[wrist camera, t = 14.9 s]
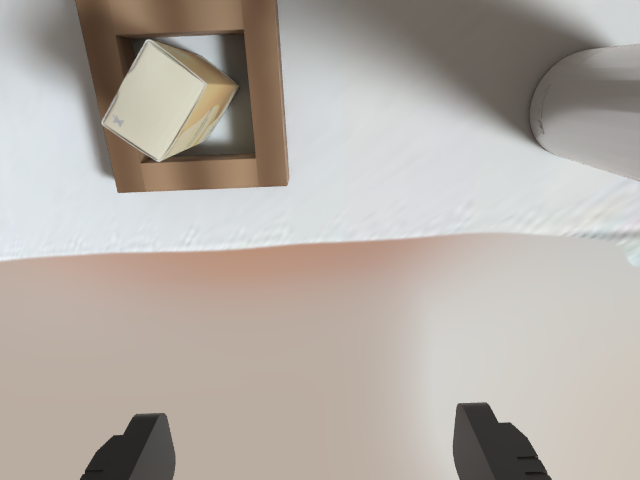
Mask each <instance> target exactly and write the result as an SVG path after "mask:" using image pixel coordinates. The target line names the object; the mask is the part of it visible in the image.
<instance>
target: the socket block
mask: <svg viewBox="0 0 640 480" xmlns="http://www.w3.org/2000/svg"><path fill="white" fill-rule="evenodd" d="M75 1H76V6H77V10H78V15H79V19H80V24H81V28H82V33H83V37H84V42H85V46H86V51H87V56H88V60H89V65H90V69H91V74H92V78H93V83H94V87H95V92H96V96H97V101H98V105H99V110H100V114H101V119H102V120H103V118H104V116H105V114H106V112H107V110H108V108H109V107H110V105H111V103H112V101H113V99H114V97H115V96H116V94H117V92H118V90H119V88H120V86H121V84H122V82H123V80H124V78H125V77H126V75H127V73H128V71H129V70H130V68H131V66H132V64H133V62H134V60H135V55H134V50H133V45H132V39H133V38H156V37H178V36H200V35H222V34H244V38H245V49H246V59H247V70H248V80H249V90H250V101H251V111H252V122H253V132H254V143H255V153H248V154H224V155H201V156H177V157H169V158H167V159H164V160H162V161H160V162H157V161H155V160H154V159H152V158H151V157H149V156H147V155H146V154H144V153H142V152H141V151H139V150H138V149H136V148H135V147H133V146H132V145H130V144H129V143H128V142H126V141H125V140H123V139H122V138H120V137H119V136H117V135H116V134H114V133H113V132H112V131H110V130H109V129H107V128H106V127H104V126H103V128H104V133H105V137H106V142H107V146H108V151H109V155H110V160H111V164H112V169H113V173H114V178H115V182H116V187H117V191H118V193H127V192H151V191H176V190H200V189H224V188H248V187H272V186H287V184H288V181H289V168H288V154H287V139H286V124H285V110H284V95H283V80H282V66H281V51H280V36H279V22H278V7H277V0H75Z"/></svg>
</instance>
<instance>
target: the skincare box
mask: <svg viewBox="0 0 640 480" xmlns="http://www.w3.org/2000/svg"><path fill="white" fill-rule="evenodd" d="M238 89H239V85H238V84H237V83H236V82H235V81H233V80H232V79H231V78H230V77H228V76H227V75H226V74H225V73H223V72H222V71H221V70H220V69H218V68H217V67H216V66H214V65H213V64H212V63H210V62H209V61H208V60H206V59H205V58H204V57H202V56H200V55H197V54H194V53H191V52H187V51H184V50H181V49H178V48H175V47H172V46H169V45H166V44H163V43H160V42H157V41H154V40H151V39H147V40H146V41H145V42H144V44H143V46H142V48H141V50H140V51H139V53H138V55H137V57H136V59H135V60H134V62H133V64H132V66H131V68H130V70H129V71H128V73H127V75H126V77H125V78H124V80H123V82H122V84H121V86H120V88H119V90H118V92H117V94H116V96H115V97H114V99H113V101H112V103H111V105H110V107H109V108H108V110H107V112H106V114H105V116H104V118H103V120H102V122H101V124H102V125H103V126H104V127H106V128H107V129H109V130H110V131H112V132H113V133H114V134H116V135H117V136H119V137H120V138H122V139H123V140H125V141H126V142H128V143H129V144H130V145H132V146H133V147H135V148H136V149H138V150H139V151H141V152H142V153H144V154H146V155H147V156H149V157H151V158H152V159H154V160H155V161H157V162H160V161H162V160H164V159H167V158H169V157H171V156H173V155H175V154H178V153H180V152H182V151H184V150H186V149H189V148H191V147H193V146H195V145H197V144H200V143H202V142H204V141H205V140H206V139H207V138H208V136H209V135H210V133H211V132H212V131H213V129H214V128H215V126H216V125H217V123H218V122H219V120H220V119H221V117H222V115H223V114H224V112H225V111H226V109H227V107H228V106H229V104H230V102H231V101H232V99H233V97H234V96H235V94H236V92H237V90H238Z"/></svg>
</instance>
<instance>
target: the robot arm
mask: <svg viewBox="0 0 640 480" xmlns="http://www.w3.org/2000/svg"><path fill="white" fill-rule="evenodd" d="M530 124H531V129H532V132H533V134H534V136H535V138H536V140H537V141H538V142H539V144H540V145H541V146H542V147H543V148H544V149H546V150H547V151H548V152H550V153H552V154H555V155H557V156H560V157H563V158H566V159H570V160H573V161H576V162H579V163H582V164H585V165H588V166H591V167H595V168H598V169H601V170H604V171H608V172H611V173H614V174H617V175H620V176H624V177H627V178H630V179H633V180H637V181H640V44H633V45H624V46H614V47H605V48H596V49H587V50H583V51H579V52H575V53H573V54H571V55H569V56H567V57H565V58H563V59H562V60H560V61H559V62H558V63H556V64H555V65H553V67H552V68H551V69H550V70H549V71H548V72H547V73H546V74H545V75H544V76H543V78H542V79H541V81H540V82H539V84H538V86H537V88H536V90H535V92H534V95H533V97H532V101H531V106H530ZM453 456H454V462H455V467H456V470H457V473H458V475H459V479H460V480H552V479H551V478H550V476H548V475H547V471H546V469H545V467H544V466H543V464H542V462H541V461H540V460H539V459H538V455H537V454H536V452H535V450H534V449H533V447H532V445H531V443H530V442H529V440H528V438H527V437H526V436H525V435H524V434H522V433H521V432H520V431H519V430H518V429H517V428H516V427H515V426H514V425H512V424H511V423H498V421H497V419H496V417H495V415H494V413H493V411H492V410H491V408H490V406H489V405H488V404H487V403H459V404H458V405H457V409H456V418H455V429H454V439H453ZM174 471H175V451H174V447H173V442H172V438H171V433H170V428H169V424H168V420H167V416H166V415H165V414H164V413H153V414H136V415H135V416H134V417H133V418H132V420H131V421H130V423H129V425H128V427H127V429H126V430H125V432H124V434H123V435H116V436H115V435H114V436H113V437H112V438H110V439H109V440H108V441H107V442H106V443H105V444H104V445H103V446H102V447H101V448H100V449H99V450H98V451H97V452H96V453H95V455H94V457H93V458H92V460H91V462H90V463H89V465H88V467H87V468H86V470H85V474H83V475H82V477H81V478H80V480H172V479H173V476H174Z"/></svg>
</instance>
